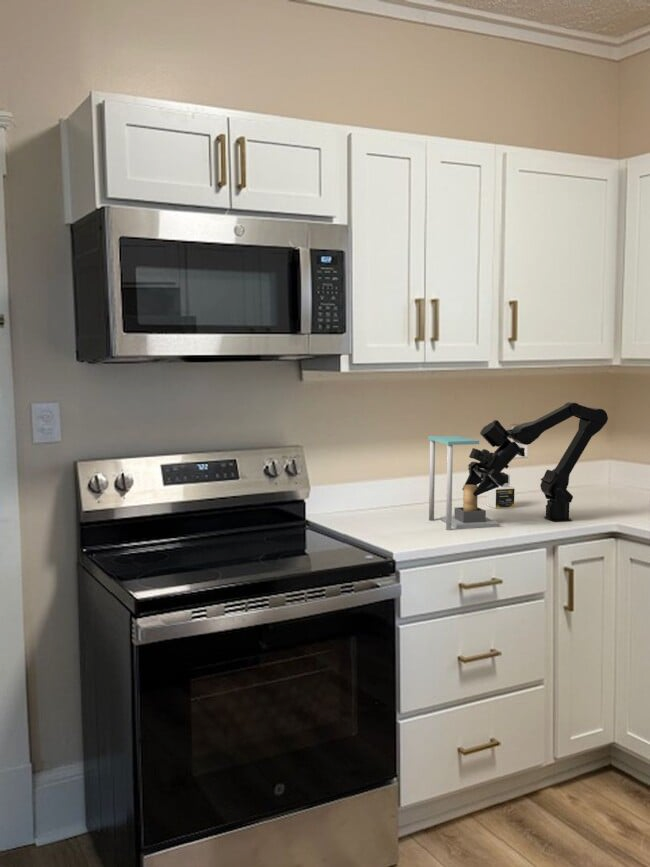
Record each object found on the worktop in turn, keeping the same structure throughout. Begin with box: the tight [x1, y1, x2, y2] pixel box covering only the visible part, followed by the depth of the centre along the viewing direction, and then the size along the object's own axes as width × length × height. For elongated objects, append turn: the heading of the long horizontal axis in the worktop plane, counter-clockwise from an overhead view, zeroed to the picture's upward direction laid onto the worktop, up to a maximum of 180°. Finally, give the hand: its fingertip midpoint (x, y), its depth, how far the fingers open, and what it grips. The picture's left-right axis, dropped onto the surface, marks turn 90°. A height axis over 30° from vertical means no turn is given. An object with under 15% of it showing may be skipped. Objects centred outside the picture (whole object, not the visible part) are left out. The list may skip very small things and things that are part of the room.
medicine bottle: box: [486, 471, 516, 510], centre depth 303 cm, size 7×7×12 cm
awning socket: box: [427, 435, 501, 531], centre depth 272 cm, size 18×17×27 cm
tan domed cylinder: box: [462, 484, 479, 511], centre depth 273 cm, size 4×4×11 cm
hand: (468, 492), depth 273 cm, fingers open, 9 cm apart
